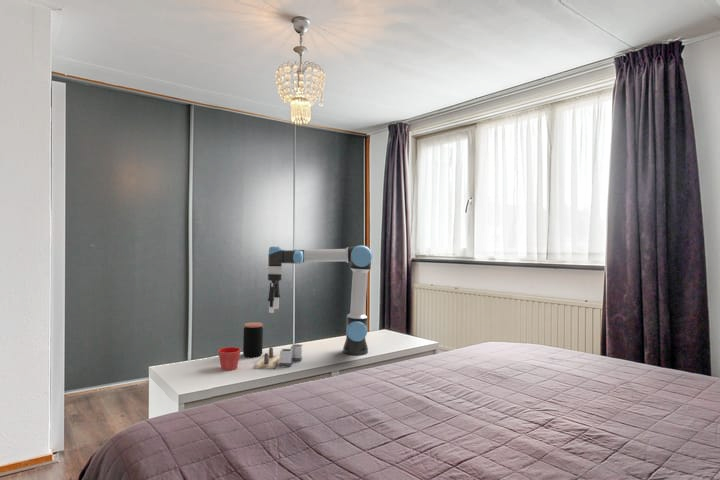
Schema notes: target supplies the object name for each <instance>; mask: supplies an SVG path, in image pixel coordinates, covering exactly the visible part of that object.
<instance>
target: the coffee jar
mask: <svg viewBox="0 0 720 480" xmlns="http://www.w3.org/2000/svg"><path fill="white" fill-rule="evenodd" d="M263 325H264V324H263V323H262V322H254V321H253V322H246V323H244V324H243V326H244V328H243V338H242V339H243V342H242V343H243V346H242V354H243V356H244V357H245V358H248V357H249V359H250V358H251V359H254V357H255V358H259V357H262V354H263V339H264V337H263V335H264V328H263V327H264V326H263Z"/></svg>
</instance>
